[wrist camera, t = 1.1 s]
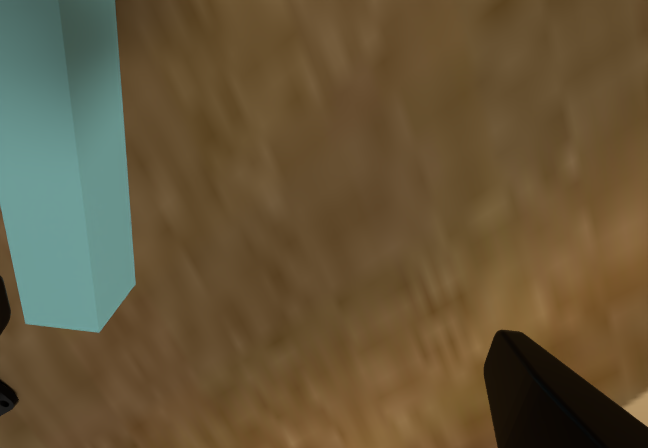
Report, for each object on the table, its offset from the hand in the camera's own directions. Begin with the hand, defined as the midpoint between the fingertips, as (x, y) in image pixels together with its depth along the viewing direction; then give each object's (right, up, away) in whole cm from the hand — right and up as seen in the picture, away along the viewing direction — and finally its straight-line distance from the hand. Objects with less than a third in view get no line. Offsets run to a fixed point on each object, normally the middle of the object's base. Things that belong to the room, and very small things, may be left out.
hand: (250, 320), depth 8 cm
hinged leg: (-7, +6, +7) cm, 11 cm away
